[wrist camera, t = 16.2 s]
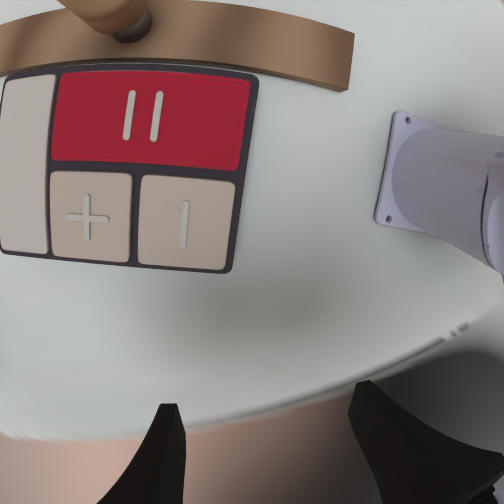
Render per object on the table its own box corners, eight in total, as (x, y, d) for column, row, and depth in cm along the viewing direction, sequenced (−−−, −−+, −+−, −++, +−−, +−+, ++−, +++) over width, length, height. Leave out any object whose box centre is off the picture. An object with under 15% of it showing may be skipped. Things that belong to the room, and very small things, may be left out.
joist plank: (346, 38, 15) (354, 33, 14) (340, 91, 17) (347, 89, 15) (-9, 33, 11) (-17, 31, 10) (-20, 81, 12) (-30, 80, 11)
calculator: (233, 281, 17) (-7, 259, 13) (225, 253, 20) (23, 236, 17) (264, 72, 13) (-3, 73, 10) (249, 86, 17) (30, 82, 14)
